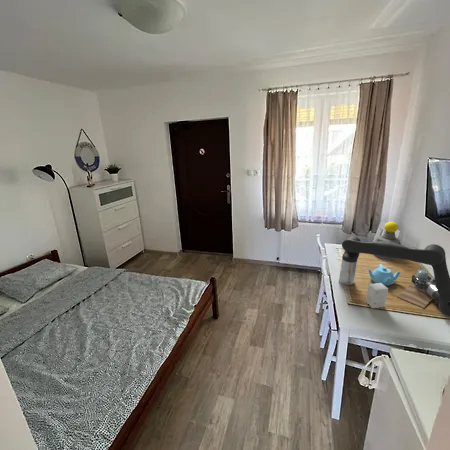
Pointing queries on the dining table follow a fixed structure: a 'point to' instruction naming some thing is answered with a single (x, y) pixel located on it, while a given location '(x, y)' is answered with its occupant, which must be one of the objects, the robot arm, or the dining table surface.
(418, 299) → the placemat
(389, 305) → the dining table surface
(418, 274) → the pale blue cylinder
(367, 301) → the small box
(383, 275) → the teapot
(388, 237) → the toy tesla coil
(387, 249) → the robot arm
